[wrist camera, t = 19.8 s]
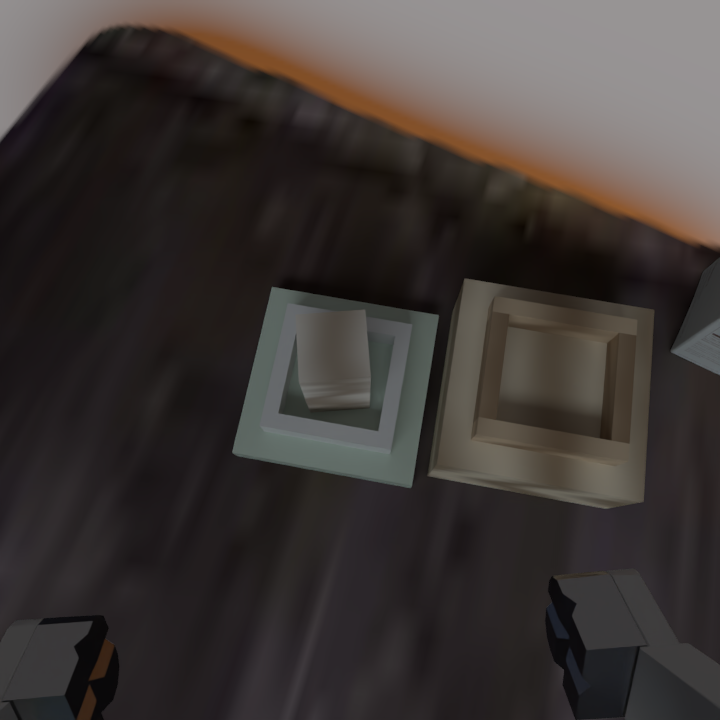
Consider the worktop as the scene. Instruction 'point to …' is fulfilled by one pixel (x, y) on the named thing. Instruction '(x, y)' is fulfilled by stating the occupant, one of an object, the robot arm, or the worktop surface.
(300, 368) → the cream plug block
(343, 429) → the sage socket plate
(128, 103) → the worktop surface
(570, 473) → the birch stand
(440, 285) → the worktop surface
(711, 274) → the supplement box
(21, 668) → the robot arm
